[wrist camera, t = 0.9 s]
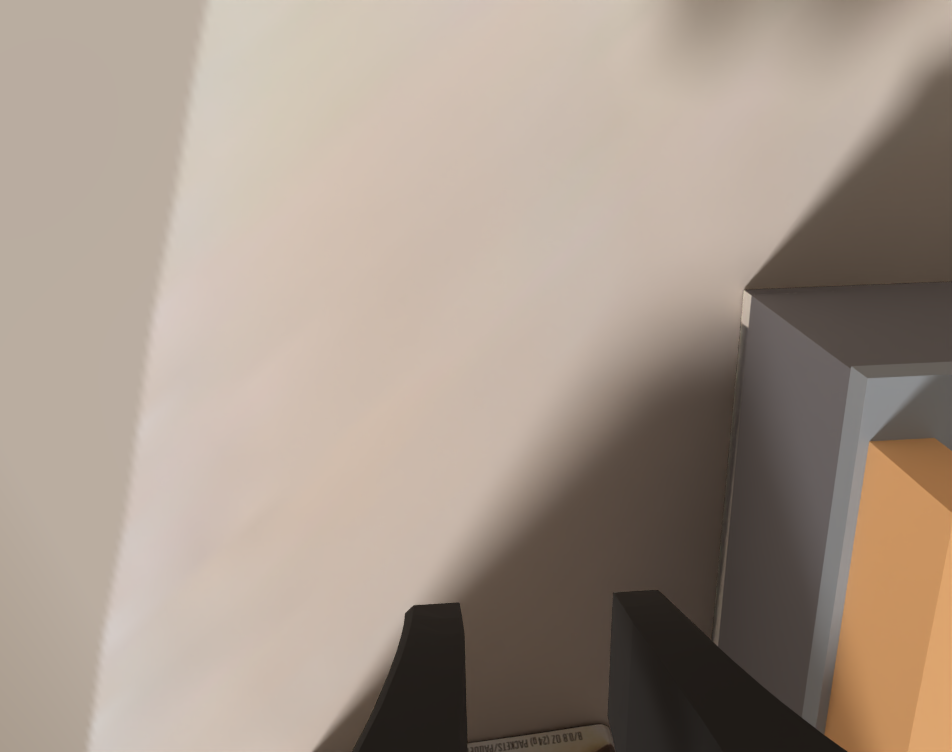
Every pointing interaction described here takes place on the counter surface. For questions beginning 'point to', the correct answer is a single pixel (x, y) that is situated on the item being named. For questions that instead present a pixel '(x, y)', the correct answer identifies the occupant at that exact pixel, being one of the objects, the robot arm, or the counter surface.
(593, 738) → the coffee box
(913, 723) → the box lid
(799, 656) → the grey box
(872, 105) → the counter surface
